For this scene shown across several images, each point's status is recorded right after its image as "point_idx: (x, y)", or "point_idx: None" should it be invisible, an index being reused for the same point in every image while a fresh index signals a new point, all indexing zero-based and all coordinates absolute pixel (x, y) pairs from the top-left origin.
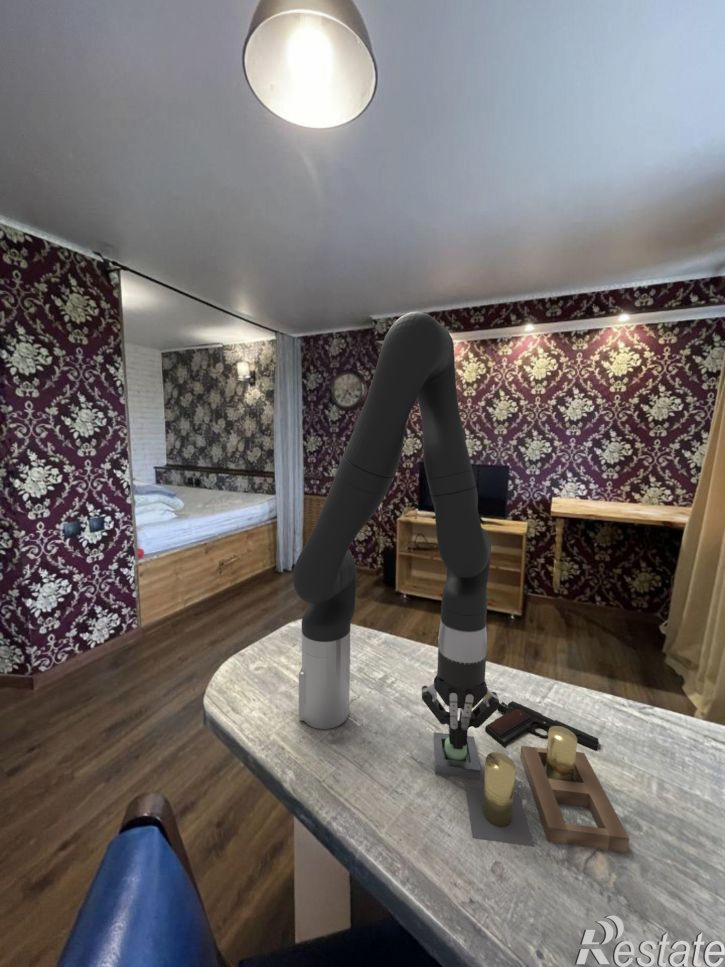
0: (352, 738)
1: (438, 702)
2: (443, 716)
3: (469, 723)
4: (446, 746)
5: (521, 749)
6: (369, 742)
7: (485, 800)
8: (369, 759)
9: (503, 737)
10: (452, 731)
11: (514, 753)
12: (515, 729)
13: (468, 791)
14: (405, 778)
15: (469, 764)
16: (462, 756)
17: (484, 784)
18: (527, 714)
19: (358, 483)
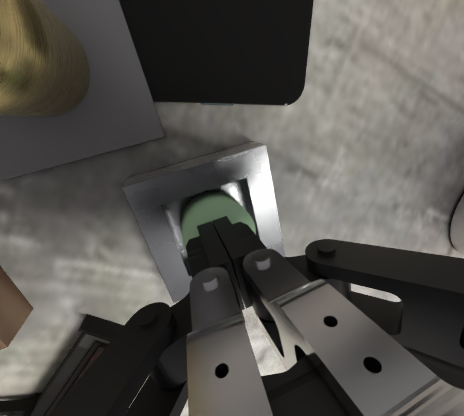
0: (441, 166)
1: (401, 336)
2: (346, 266)
3: (189, 310)
4: (249, 215)
5: (8, 335)
6: (407, 173)
7: (46, 7)
8: (406, 123)
9: (91, 347)
10: (253, 248)
11: (56, 318)
12: (61, 390)
13: (150, 118)
14: (322, 100)
15: (163, 194)
16: (191, 211)
17: (32, 7)
18: None
19: None
